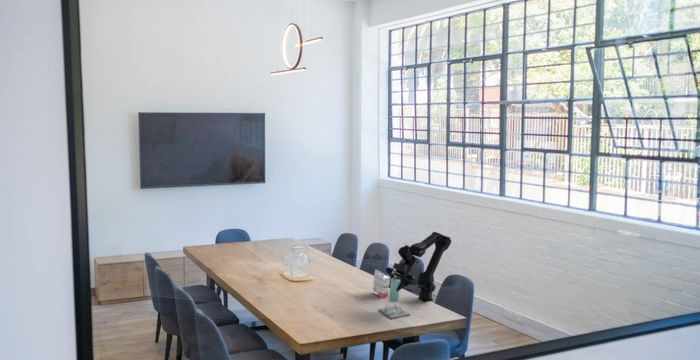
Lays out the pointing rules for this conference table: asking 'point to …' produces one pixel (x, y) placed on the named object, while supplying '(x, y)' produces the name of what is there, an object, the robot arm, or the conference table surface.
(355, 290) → the conference table surface
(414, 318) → the conference table surface
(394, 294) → the rounded cone
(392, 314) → the pin board
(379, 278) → the ink cartridge box
